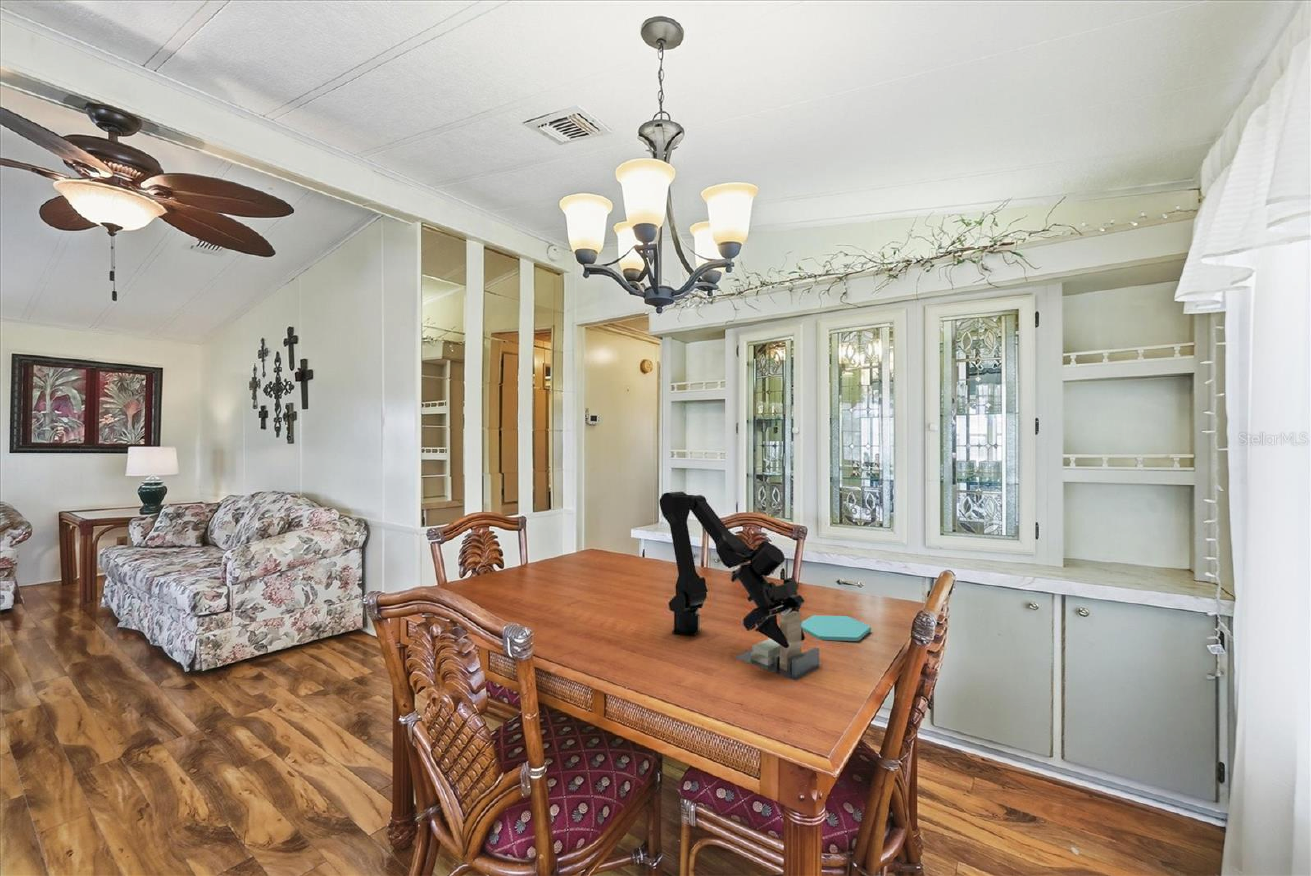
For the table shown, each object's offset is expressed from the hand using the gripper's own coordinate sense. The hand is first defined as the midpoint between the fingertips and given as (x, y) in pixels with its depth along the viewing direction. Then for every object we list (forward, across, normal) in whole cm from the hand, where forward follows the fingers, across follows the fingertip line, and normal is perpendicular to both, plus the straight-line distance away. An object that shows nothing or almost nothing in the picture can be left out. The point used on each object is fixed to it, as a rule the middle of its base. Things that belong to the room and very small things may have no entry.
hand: (795, 643), depth 125 cm
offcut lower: (-1, 0, +9) cm, 9 cm away
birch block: (+3, 0, +5) cm, 6 cm away
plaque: (0, +32, +11) cm, 34 cm away
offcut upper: (-3, 0, +8) cm, 9 cm away
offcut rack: (+1, 0, +8) cm, 8 cm away
